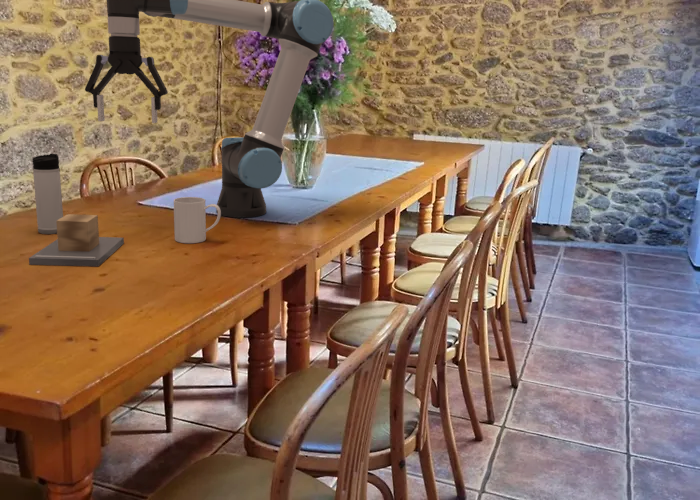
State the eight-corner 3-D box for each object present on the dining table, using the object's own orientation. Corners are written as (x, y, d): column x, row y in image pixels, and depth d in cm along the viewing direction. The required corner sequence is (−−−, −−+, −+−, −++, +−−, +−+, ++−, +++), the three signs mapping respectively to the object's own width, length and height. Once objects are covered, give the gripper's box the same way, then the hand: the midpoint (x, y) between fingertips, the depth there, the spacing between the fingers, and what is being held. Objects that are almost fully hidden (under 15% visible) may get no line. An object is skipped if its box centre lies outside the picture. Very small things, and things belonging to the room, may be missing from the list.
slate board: (123, 243, 171) (123, 236, 170) (98, 266, 151) (97, 259, 151) (62, 241, 170) (62, 235, 169) (29, 264, 151) (28, 257, 150)
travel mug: (70, 230, 181) (65, 154, 176) (52, 235, 175) (46, 157, 170) (51, 227, 183) (45, 152, 178) (32, 232, 177) (26, 155, 172)
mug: (169, 242, 174) (168, 201, 171) (182, 235, 181) (181, 196, 178) (214, 246, 171) (214, 205, 169) (226, 239, 179) (225, 199, 176)
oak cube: (99, 243, 164) (97, 215, 162) (89, 251, 157) (87, 221, 155) (69, 242, 164) (67, 214, 162) (58, 250, 157) (56, 220, 155)
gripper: (177, 38, 175) (179, 122, 181) (78, 34, 174) (84, 118, 179) (171, 37, 168) (173, 124, 173) (68, 33, 167) (73, 121, 172)
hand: (128, 122), depth 176 cm, fingers open, 13 cm apart
